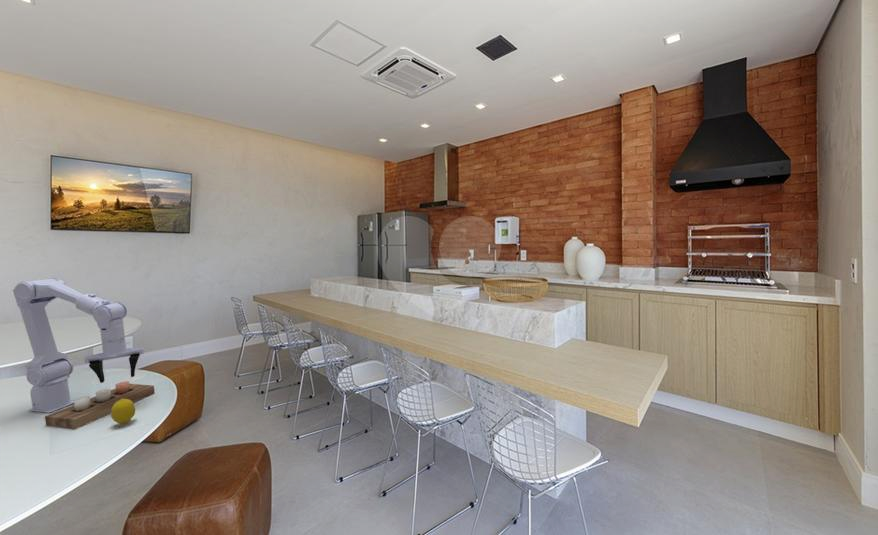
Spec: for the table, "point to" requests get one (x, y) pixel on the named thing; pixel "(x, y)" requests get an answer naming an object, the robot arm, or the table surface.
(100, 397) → the grey plug middle
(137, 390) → the walnut board
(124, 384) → the terracotta plug
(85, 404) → the grey plug right
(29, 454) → the table surface
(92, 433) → the table surface
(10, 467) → the table surface
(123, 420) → the lemon
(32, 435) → the table surface
